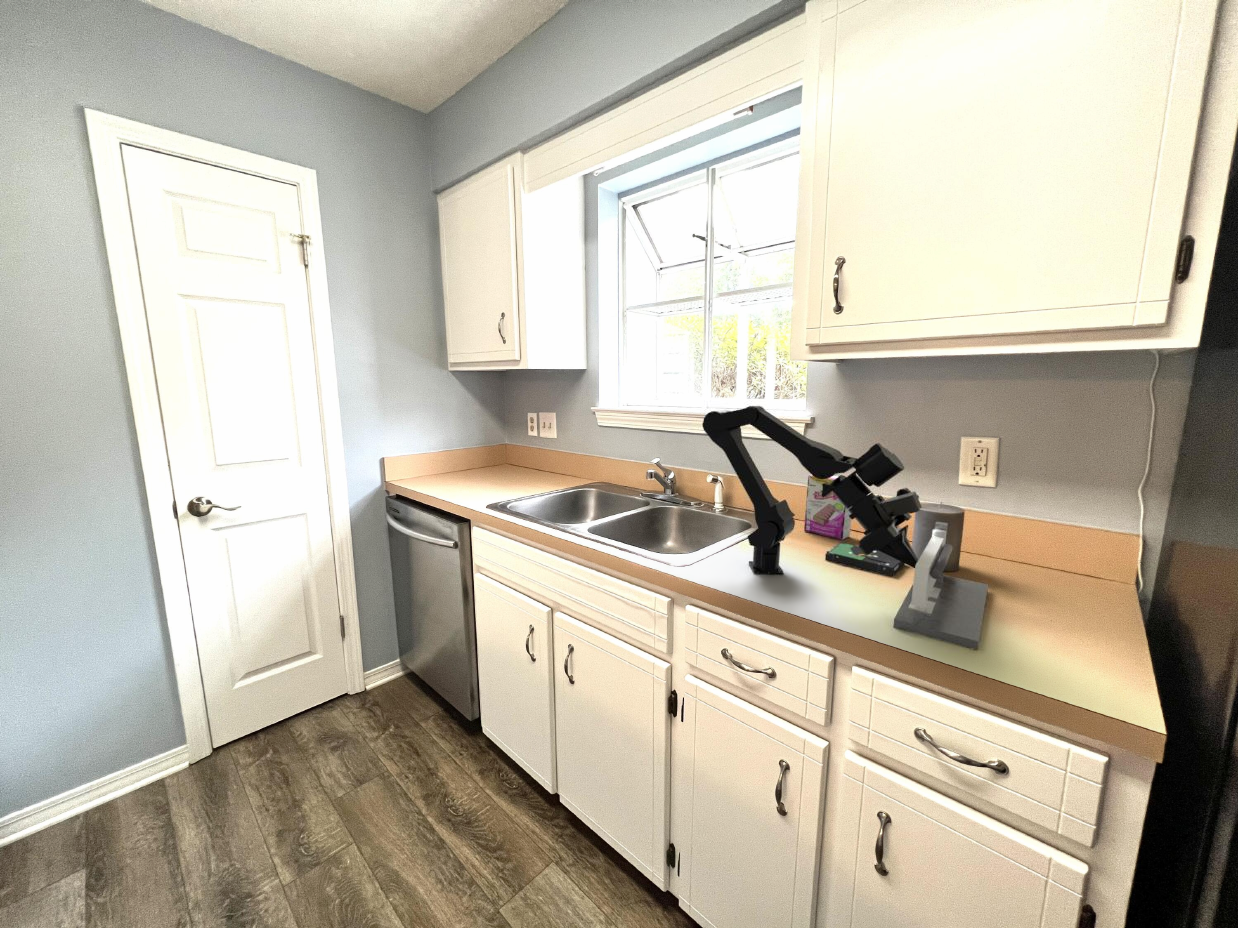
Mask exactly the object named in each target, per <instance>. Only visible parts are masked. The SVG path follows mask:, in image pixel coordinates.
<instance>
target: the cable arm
mask: <svg viewBox="0 0 1238 928" xmlns="http://www.w3.org/2000/svg"><path fill="white" fill-rule="evenodd" d="M945 540H946V531H944V530H940V529H933V531H932V538H931V539H930V541H929V543H928V545H927V546H926V548H925V550H924V551H923V553H922V555H921V557H920V558H919V560H918V562H917V563H916V565H915V568H914V574H913V575H914V576H913V583H912V585H913V591H912V600H911V604H914V605H918V606H922V607H925V604H926V602H927V600H928V598H929V595H930V593H931V591H932V588H933V586H934V584H935V582H936V579H939V578H940V577H941V575H942V573H943V574H944V572H943V570H944V568H945V565H946V563H947V561H948V558H949V556H950V554H951V551H952V546H951V545H950V544H945Z"/></svg>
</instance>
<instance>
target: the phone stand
mask: <svg viewBox="0 0 1238 928" xmlns="http://www.w3.org/2000/svg"><path fill="white" fill-rule="evenodd" d="M947 526H948V523H942V522H936V523H935V529H940V530H944V531H946V534H947ZM945 543H946V540H945ZM988 588H989V584H988V583H982V582H977V581H973V580H969V579H968V580H967V579H964V578H960V577H954V576H949V575H945V573H944V572H943V573H942V575H941V577H940V578H939V579H936V582H935V584H934V586H933V588H932V591H931V593H930V595H929V598H928V600H927V602H926V604H925V607H922V606H918V605H914V604H911V600H912V591H913V584H912V585H911V587H910V589H909V591H908V592H907V594H906V596H905V598H904V600H903V601H902V603H901V605H900V607H899V609H898V611H897V613H896V615H895V616H894V618H893V623H892V624H893V626H892V628H896V629H899V630H903V631H906V632H909V633H913V634H917V635H921V636H925V637H928V638H932V639H935V640H938V641H942V642H946V643H949V644H954V645H958V646H960V647H965V648H968V649H972V650H975V651H978V649H979V642H980V637H981V636H980V635H981V630H982V626H983V618H984V612H985V607H986V602H987V595H988V590H989V589H988Z"/></svg>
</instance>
